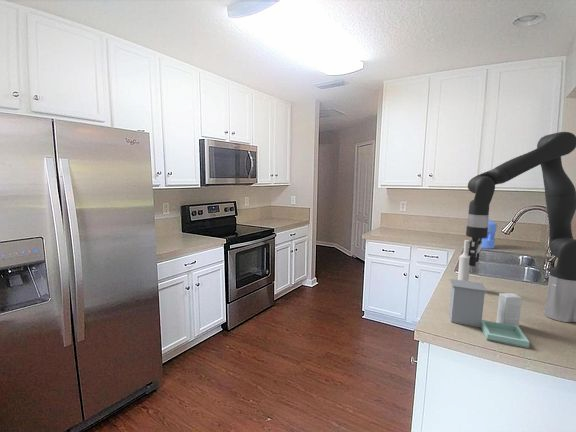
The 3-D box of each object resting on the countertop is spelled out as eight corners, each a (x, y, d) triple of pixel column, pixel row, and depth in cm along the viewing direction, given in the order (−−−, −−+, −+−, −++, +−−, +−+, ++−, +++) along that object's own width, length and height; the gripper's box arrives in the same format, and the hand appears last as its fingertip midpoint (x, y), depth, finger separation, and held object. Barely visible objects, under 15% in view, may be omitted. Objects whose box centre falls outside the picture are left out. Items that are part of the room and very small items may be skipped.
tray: (517, 331, 113) (518, 326, 112) (528, 348, 101) (529, 342, 101) (479, 325, 117) (480, 319, 117) (486, 340, 106) (487, 334, 106)
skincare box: (510, 322, 120) (514, 293, 119) (518, 327, 116) (522, 297, 114) (495, 322, 120) (498, 292, 118) (503, 327, 116) (507, 297, 114)
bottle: (462, 289, 154) (467, 241, 151) (454, 286, 159) (458, 239, 156) (470, 289, 156) (475, 241, 152) (462, 285, 161) (466, 239, 157)
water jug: (468, 244, 264) (471, 213, 261) (485, 245, 265) (489, 213, 262) (480, 249, 249) (484, 215, 245) (498, 249, 250) (502, 215, 246)
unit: (478, 318, 123) (482, 283, 121) (483, 328, 114) (487, 290, 112) (447, 312, 127) (450, 278, 125) (449, 322, 118) (453, 286, 117)
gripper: (485, 228, 117) (481, 269, 119) (490, 224, 128) (486, 261, 130) (463, 226, 122) (460, 265, 124) (469, 222, 133) (466, 258, 135)
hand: (473, 263), depth 127 cm, fingers open, 8 cm apart
